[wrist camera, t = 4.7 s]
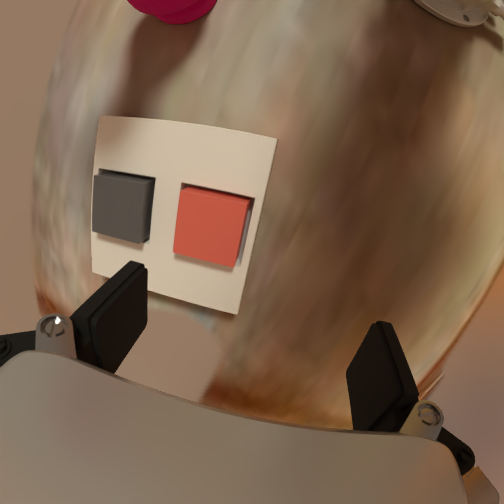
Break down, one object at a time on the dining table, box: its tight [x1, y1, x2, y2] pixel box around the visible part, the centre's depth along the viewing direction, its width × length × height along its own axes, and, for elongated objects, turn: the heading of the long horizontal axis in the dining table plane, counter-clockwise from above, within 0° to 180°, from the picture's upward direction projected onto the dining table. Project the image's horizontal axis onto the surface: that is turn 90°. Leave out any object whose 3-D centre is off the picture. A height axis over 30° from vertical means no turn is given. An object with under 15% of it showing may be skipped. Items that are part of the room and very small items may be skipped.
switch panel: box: [91, 116, 278, 315], centre depth 24 cm, size 15×15×3 cm
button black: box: [92, 171, 156, 244], centre depth 22 cm, size 5×5×2 cm
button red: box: [173, 185, 251, 268], centre depth 22 cm, size 5×5×2 cm
